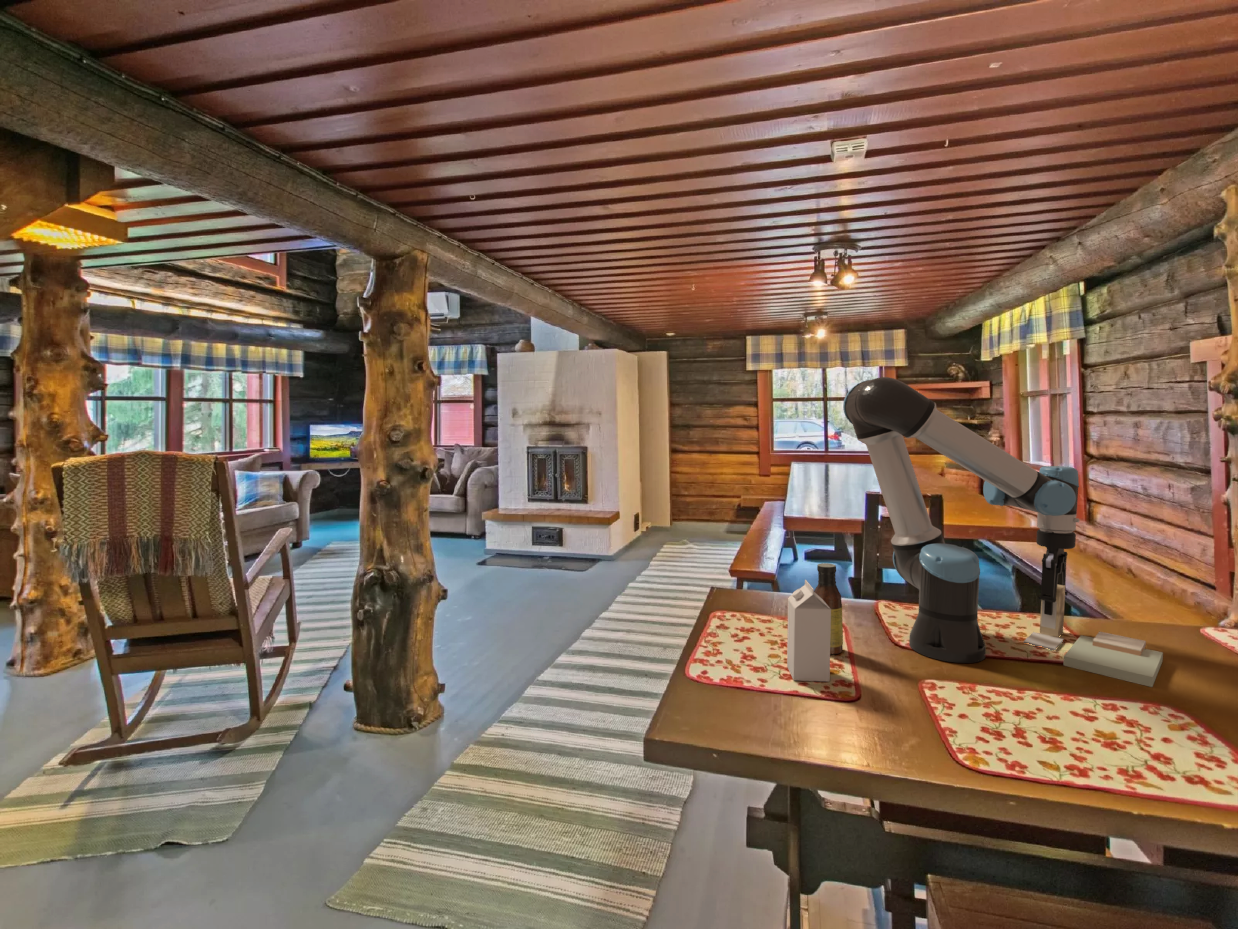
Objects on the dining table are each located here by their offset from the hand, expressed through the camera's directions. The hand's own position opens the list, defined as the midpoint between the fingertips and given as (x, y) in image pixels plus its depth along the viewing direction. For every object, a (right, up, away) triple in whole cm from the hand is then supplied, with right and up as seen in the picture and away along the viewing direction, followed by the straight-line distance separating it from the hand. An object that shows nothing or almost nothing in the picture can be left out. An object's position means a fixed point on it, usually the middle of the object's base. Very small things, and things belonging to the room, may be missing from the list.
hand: (1051, 623), depth 140 cm
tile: (+6, -2, -12) cm, 14 cm away
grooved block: (+1, -4, -17) cm, 17 cm away
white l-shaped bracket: (-3, -3, -3) cm, 5 cm away
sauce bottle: (-58, -4, -9) cm, 59 cm away
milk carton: (-67, -5, -21) cm, 70 cm away
